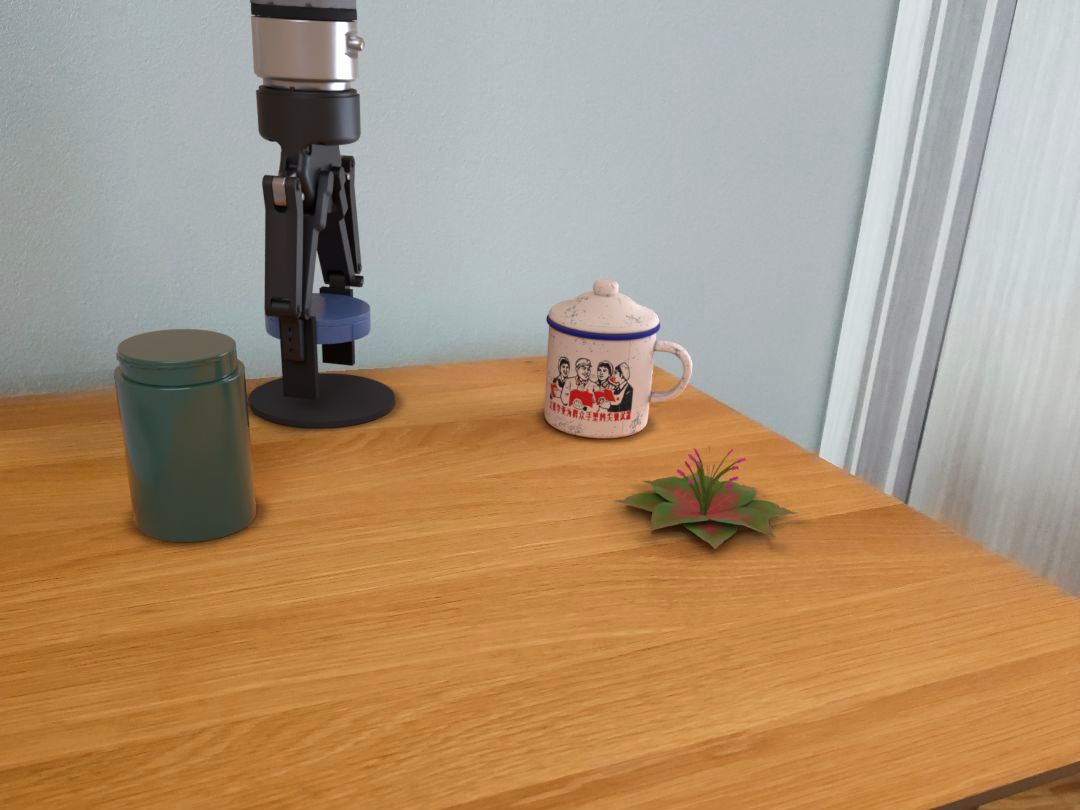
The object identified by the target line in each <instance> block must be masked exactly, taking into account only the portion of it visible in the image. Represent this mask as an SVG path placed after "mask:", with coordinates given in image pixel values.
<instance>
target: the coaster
mask: <svg viewBox="0 0 1080 810" xmlns="http://www.w3.org/2000/svg"><path fill="white" fill-rule="evenodd" d="M318 376H319V398H318V399H317V400H313V399H304V398H294V397H285V396H283V379H282V377H280V378H276V379H273V380H269V381H267V382H264V383H263V384H261V385H258V386H256V387H255V388H254V389H253V390H252V391H251V392H250V394H249V397H248V406H249V409H250V411H252V413H253V414H254V415H256V416H257V417H259V418H261V419H263V420H265V421H268V422H271V423H274V424H278V425H283V426H287V427H288V426H289V427H296V428H305V429H330V428H331V429H332V428H342V427H349V426H356V425H360V424H366V423H369V422H371V421H374V420H377V419H379V418H381V417H384V416H385V415H387V414H389V413H390V412H391V411H392V410H393V408H394V407H395V404H396V395H395V392H394V390H393V389H391V387H390V386H389V385H387V384H385V383H383V382H380V381H379V380H376V379H372V378H369V377H366V376H365V377H364V376H360V375H354V374H347V373H335V372H334V373H331V372H325V373H324V372H318Z"/></svg>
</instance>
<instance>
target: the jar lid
mask: <svg viewBox="0 0 1080 810" xmlns="http://www.w3.org/2000/svg"><path fill="white" fill-rule="evenodd" d="M287 300H288V299H287ZM263 311H264V312H265V308H264V307H263ZM310 316H316V332H317V345H322V344H336V343H344V342H349V341H354V340H355V341H357V340H360V339H363V338H364V337H366V336H368V335H369V334H370V333H371V331H372V330H371V305H370V304H369V303H368V302H367V301H364V300H363V299H361V298H358V297H354V296H353V297H350V296H345V295H339V294H328V293H319V292H312V301H311V313H310ZM264 326H265V332H266V333H267V334H268V335H269V336H270V337H272V338H275V339H277V340H280V331H279V317H272V316H266V314H265V313H264Z"/></svg>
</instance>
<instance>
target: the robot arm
mask: <svg viewBox="0 0 1080 810" xmlns="http://www.w3.org/2000/svg"><path fill="white" fill-rule="evenodd" d="M249 4H250V15H251V16H250V23H251V24H250V27H251V43H252V44H251V45H252V61H253V63H252V64H253V65H252V66H253V73H254V75H256V77H257V78H260V79H262V84H260V85H258V89H255V98H256V112H257V130H258V134H259V136H260V137H261V138H262V139H264V140H265V141H267V142H272V143H277V144H278V145H279V147H280V158H279V167H278V172H277V173H278V174H277V175H273V174H264V175H263V177H262V178H261V179H262V181H261V187H262V188H261V189H262V195H263V203H264V204H263V205H264V210H265V211H264V302H263V303H264V304H263V305H264V306H263V309H264V308H265V311H264V315H265V314H266V316H272V317H279V331H280V339H279V345H280V347H279V348H280V357H281V358H280V363H281V378H282V379H283V396H285V397H294V398H304V399H313V400H317V399H318V398H319V376H318V373H319V357H318V356H319V355H318V354H319V353H318V344H317V332H316V316H310V313H311V301H312V293H314V292H313V291H314V281H315V272H316V264H317V263H316V262H317V257H318V262H319V267H320V271H321V276H322V279H323V280H322V281H323V283H324V286H321V287H319V288H318V289H319V290H318V291H319V292H318V293H328V294H339V295H345V296H350V297H354V289H353V288H363V286H364V281H365V275H360V274H361V273H362V271H363V270H362V269H363V265H362V254H361V245H360V233H359V222H358V210H357V198H356V187H355V184H356V183H355V181H356V179H355V178H356V177H355V176H356V174H355V173H356V160H355V157H354V156H353V155H348V154H347V155H345V154H341V149H340V146H346V145H351V144H354V143H356V142H357V141H359V139H360V138H361V134H362V132H361V131H362V130H361V129H362V128H361V126H362V125H361V95H360V93H358V90H357V89H356V88H353V87H351V85H352V82H355V81H356V80H357V79H358V78H360V77H359V76H360V75H359V72H360V71H359V53H360V52H363V50H364V49H365V45H366V43H365V41H364V38H363V37H362V36H358V32H359V30H358V9H357V0H249ZM325 285H328V286H325ZM287 299H288V300H287ZM355 341H356V340H354V341H349V342H344V343H336V344H321V358H322V364H331V365H339V366H348V367H349V366H350V367H353V366H354V365H355V364H356V353H355V352H356V348H355V344H356V342H355Z"/></svg>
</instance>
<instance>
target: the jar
mask: <svg viewBox="0 0 1080 810" xmlns="http://www.w3.org/2000/svg"><path fill="white" fill-rule="evenodd" d="M116 350H117V352H115V355H116V361H118V363H119V364H118V365H117V366H115V368H114V370H113V380H114V387H115V394H116V401H117V408H118V417H119V423H120V431H121V436H122V443H123V451H124V458H125V459H124V460H125V465H126V472H127V473H126V474H127V481H128V487H129V495H130V501H131V509H132V516H133V522H134V526H135V527H136V529H137V530H138V531H139V532H140V533H141V534H143V535H145V536H147V537H149V538H151V539H154V540H159V541H164V542H171V543H197V542H206V541H212V540H217V539H222V538H224V537H227V536H231V535H233V534H236V533H238V532H240V531H242V530H244V529H245V528H247V527H248V526H249V525H250V524H252V522H253V521H254V520H255V518H256V515H257V504H256V503H257V502H256V491H255V477H254V464H253V452H252V442H251V441H252V440H251V429H250V417H249V402H248V394H247V393H248V392H247V379H246V368H245V364H244V363H243V362H242V361H241V359H239V358H238V352H237V342H236V340H235V339H234V338H233V337H231V336H230V335H228V334H226V333H225V334H224V333H222V332H217V331H213V330H209V329H208V330H207V329H198V328H197V329H196V328H173V329H161V330H153V331H147V332H143V333H139V334H136V335H133V336H130V337H128V338H125V339H124V340H122V341H121V342H119V344H118V345H117V349H116Z"/></svg>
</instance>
